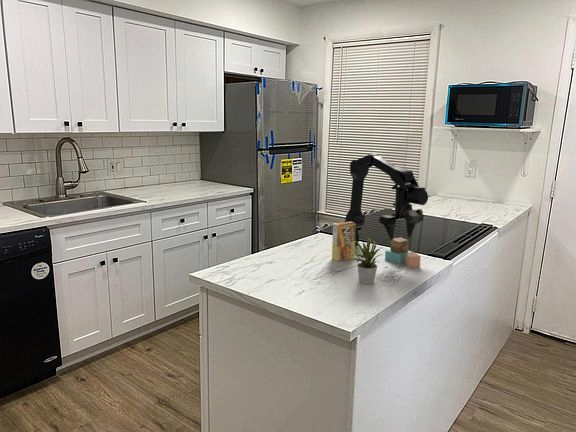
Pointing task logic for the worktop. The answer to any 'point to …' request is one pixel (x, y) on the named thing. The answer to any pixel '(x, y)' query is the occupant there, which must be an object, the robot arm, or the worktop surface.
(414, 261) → the terracotta cube
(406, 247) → the walnut cube
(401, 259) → the teal base block
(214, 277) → the worktop surface
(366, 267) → the house plant
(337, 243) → the candy box
